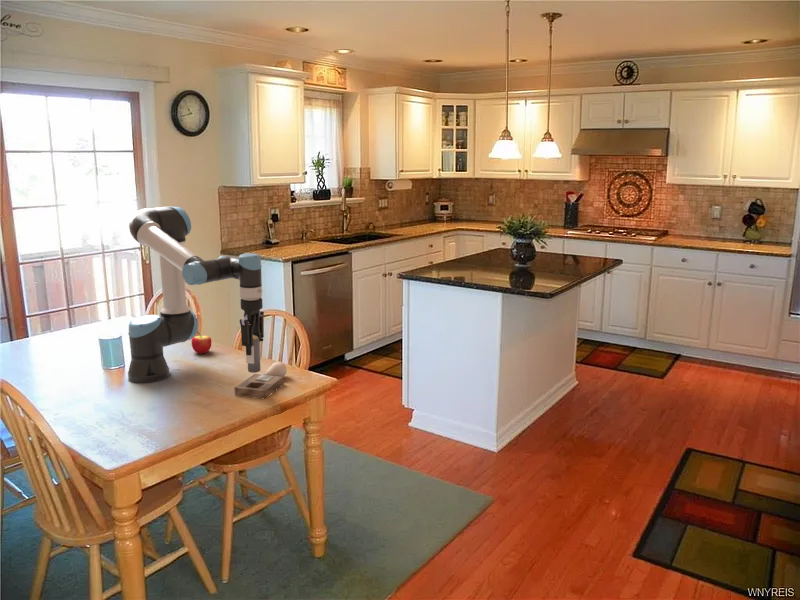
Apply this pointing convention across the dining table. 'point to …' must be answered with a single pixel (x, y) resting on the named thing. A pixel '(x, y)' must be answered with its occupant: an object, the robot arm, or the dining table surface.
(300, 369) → the dining table surface
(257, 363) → the plug
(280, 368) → the light bulb
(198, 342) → the apple
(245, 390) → the wooden socket board
